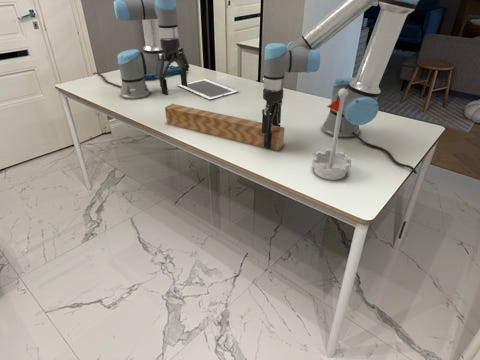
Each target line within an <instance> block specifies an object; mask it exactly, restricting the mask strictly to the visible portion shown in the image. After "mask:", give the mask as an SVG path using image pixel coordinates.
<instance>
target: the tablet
mask: <svg viewBox="0 0 480 360" xmlns="http://www.w3.org/2000/svg"><path fill="white" fill-rule="evenodd" d="M177 87H180V88H182V89H184V90H186V91H188V92H191V93H193V94H195V95H198V96H200V97H202V98H204V99H207V100H209V101H211V100H215V99H219V98H223V97H226V96H229V95H233V94H237V93H239V91H238V90H236V89H233V88H230V87H228V86H226V85H223V84H220V83H217V82H215V81H213V80H209V79H207V78H202V79H199V80H195V81H191V82H187V86H182V85H181V84H178V85H177Z"/></svg>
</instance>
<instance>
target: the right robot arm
mask: <svg viewBox="0 0 480 360" xmlns="http://www.w3.org/2000/svg"><path fill="white" fill-rule="evenodd" d="M419 1H420V0H343V1H342V2H341V3H340V4H339V5H337V6H336V7H335V8H334V9H332V10H331V11H330V12H329V13H328V14H327V15H325V16H324V17H323V18H322V19H321V20H320V21H318V22H317V23H316V24H314V25H313V26H312V27H310V29H308V30H307V31H306V32H304V33H303V35H301V36H300V37H299V38H297V39H296V40H291V41H290V42H288V44H287V45H286V44H284V43H281V42H271V43H267V45H266V46H265V48H264V56H263V78H262V82H263V90H262V99H263V100H264V101H265V109H264V108H263V109H261V114H262V117H261V118H262V119H261V123H262V134H264V147H263V148H265V149H268V150H271V149H270V148H271V134H272V133H271V126H272V125H275V126H279V127H281V121H282V104H283V99H284V89H285V74H286V73H307V74H309V73H316V72H318V71H319V69H320V66H321V53H320V51H319V50H318V49H319V48H321V47H322V46H323V45H325V44H326V43H327V42H328V41H329V40H331V39H333V37H335V36H336V35H337V34H339V32H341V31H342V30H343V29H345V28H346V27H348V25H350V24H351V23H352V22H354V20H356V19H357V18H359V17H360V16H361V15H363V13H365V12H366V11H368V10H369V9H370V8H371V7H372V6H373V7H377V6H378V5H379V7H380V10H379V13H378V16H377V19H376V22H375V24H374V27H373V29H372V32H371V36H370V38H369V41H368V43H367V46H366V49H365V52H364V54H363V56H362V60H361V63H360V65H359V68H358V71H357V74H356V76H355V77H353V76H350V77H349V76H343V77H337V78H335V80H334V82H333V85H332V93H331V101H330V104H332V103H333V102H335V101H336V100H338V99H339V98H340V97H339V95H338V92H339V90H340V89H342V88H344V89H346V90H347V91H348V95H347V96H346V97H345V99H344V105H343V111H342V117H341V123H340V128H339V134H338V138H339V139H341V138H342V139H349V138H354V137H355V138H356V139H357V140H359V141H360V143H362V144H364V145H366V146H368V147H371V148H374V149H377V150H380V151H382V152H384V153H385V154H387V155H388V157H389V158H390V160H391V161H392V162H393V163H395V164H396V165H397V166H400V167H403V168H408V169H410V170H411V171H412V172H413V174H416V175H417V174H418V172H417V170H416V169H415V168H414V166H412V165H410V164H407V163H406V164H405V163H402V162H399V161H397V160H396V159H395V158H394V157H393V155H392V154H391V153H390V151H389V150H387V149H385V148H383V147H381V146H379V145H375V144H372V143H368V142H367V141H365V140H363V139H362V138H361V137H360V136H359V132H360V126H363V125H367V124H368V123H370V122H372V121H373V120H374V119H375V118H376V117H377V115H378V114H379V110H380V109H379V107H380V106H379V103H378V99H379V97H380V95H381V92H382V91H381V89H380V87H379V85H380V83H381V80H382V78H383V75H384V73H385V70H386V68H387V67H388V66H387V65H388V63H389V61H390V58H391V56H392V54H393V51H394V49H395V45H397V44H396V43H397V41H398V39H399V36H400V34H401V31H402V29H403V26H404V24H405V21H406V19H407V17H408V15H409V14H411V13H413V12H414V11H415V10H416V7H417V5H418V3H419ZM337 112H338V111H336V110H333V109H331V108H329V112H328V115H327V117H326V120H325V118H324V122H323V126H322V130H323V132H324V133H325V134H326V135H329V136H332V137H333V136H334V130H335V124H336V118H337ZM406 225H407V220H405V221H403V223H402V226H401V228H400V231H399V233H398V238H397V239H402V235H403V233H404V229H405V227H406Z"/></svg>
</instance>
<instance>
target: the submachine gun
mask: <svg viewBox="0 0 480 360" xmlns="http://www.w3.org/2000/svg"><path fill="white" fill-rule="evenodd" d="M180 71H182V70H181V69H180V67H179V66H178V65H176V66H175V65H172V64H171V65H169V70H168V71H167V74H166V76H170V75H174V74H180ZM155 75H156V74H148V75H143V78H144V81H145V80H149V79H150V80H151V79H152V80H156V78H155Z"/></svg>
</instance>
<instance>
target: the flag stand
mask: <svg viewBox="0 0 480 360" xmlns="http://www.w3.org/2000/svg"><path fill="white" fill-rule="evenodd" d="M338 95H339V97H340V98H339V99H338V100H336V101H335V102H333V103H332V104H331V103H330V104H328V105H326V107H327V108H329V109H330V108H331V109H333V110H336V111H338V112H337V118H336V124H335V130H334V136H332V143H331V148H330V149H329V148H328V149H324V152H321V151H320V150H317V151H315V152H314V154H313V155H314V156H312V166H313V168H314V169H313V170H314V173H315V174H316V175H317V176H318V177H320V178H322V179H325V180H330V181H333V180H340V179H343V178H345V176H346V173H347V172H348V171H350V169H351V166H352V158H351V157H350V156H346V153H345V152H343V151H339V150H338V151H337V145H338V138H339V137H338V134H339V128H340V123H341V117H342V111H343V105H344V99H345V97H346V96H347V95H348V91H347V90H346V89H344V88H342V89H340V90H339V92H338ZM336 151H337V152H336Z"/></svg>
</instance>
